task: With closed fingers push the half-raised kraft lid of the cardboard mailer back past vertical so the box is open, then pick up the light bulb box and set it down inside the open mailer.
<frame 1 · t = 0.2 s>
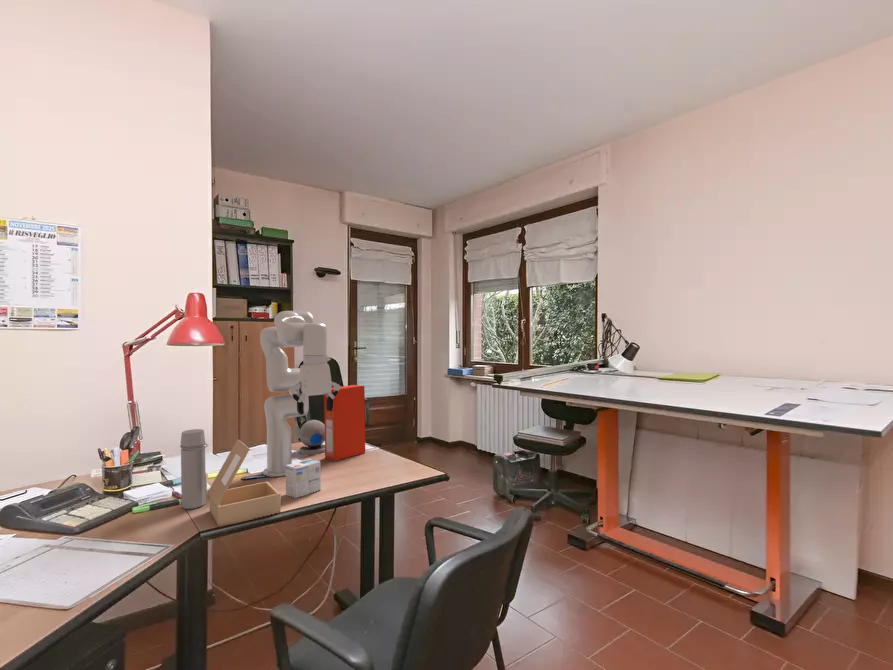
hand: (315, 412, 149), 31 cm above the table, tool pointing down, fingers open, 9 cm apart
lid: (228, 470, 142), point 14 cm above the table, hinge at 60.0°
webcam: (313, 451, 219), on the table
light bulb box: (303, 493, 163), on the table
mailer: (244, 511, 145), on the table
water bottle: (195, 506, 150), on the table
file binder: (345, 455, 211), on the table
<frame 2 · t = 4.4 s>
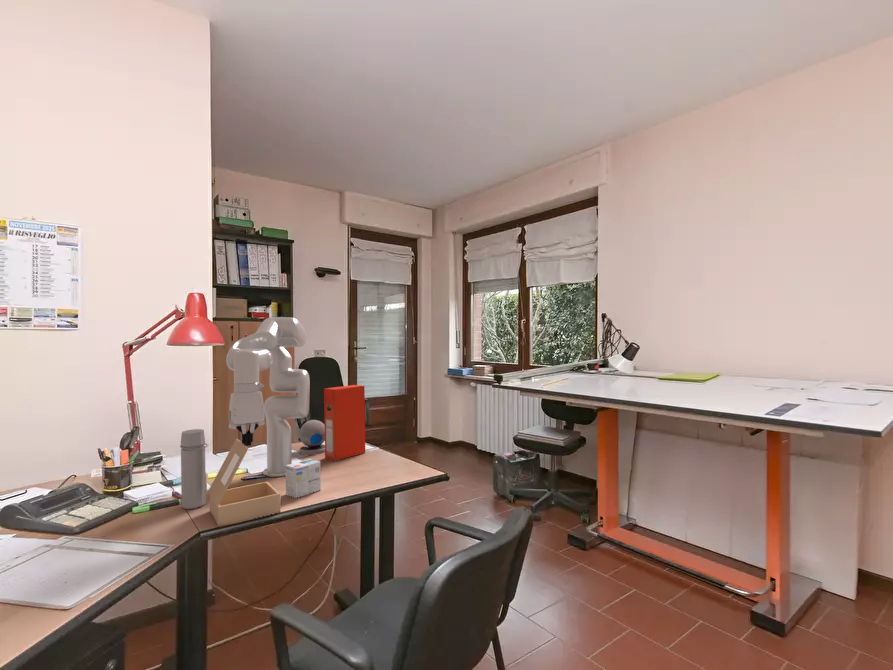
hand: (247, 445, 146), 21 cm above the table, tool pointing down, fingers closed
lid: (227, 470, 142), point 14 cm above the table, hinge at 61.6°, touching gripper
everything else where it was.
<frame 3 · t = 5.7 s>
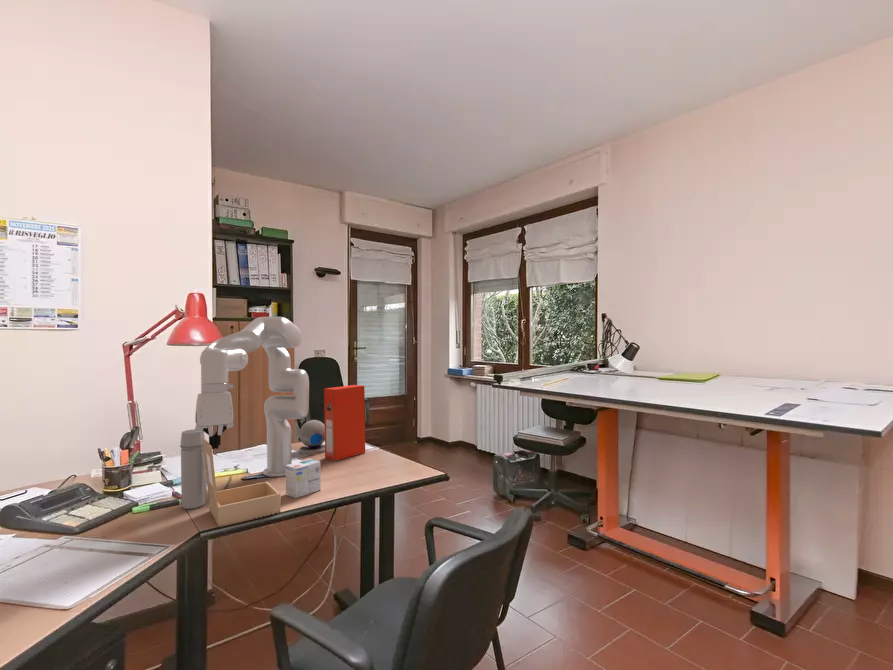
hand: (214, 448, 140), 22 cm above the table, tool pointing down, fingers closed
lid: (209, 470, 139), point 15 cm above the table, hinge at 94.9°, touching gripper
everything else where it was.
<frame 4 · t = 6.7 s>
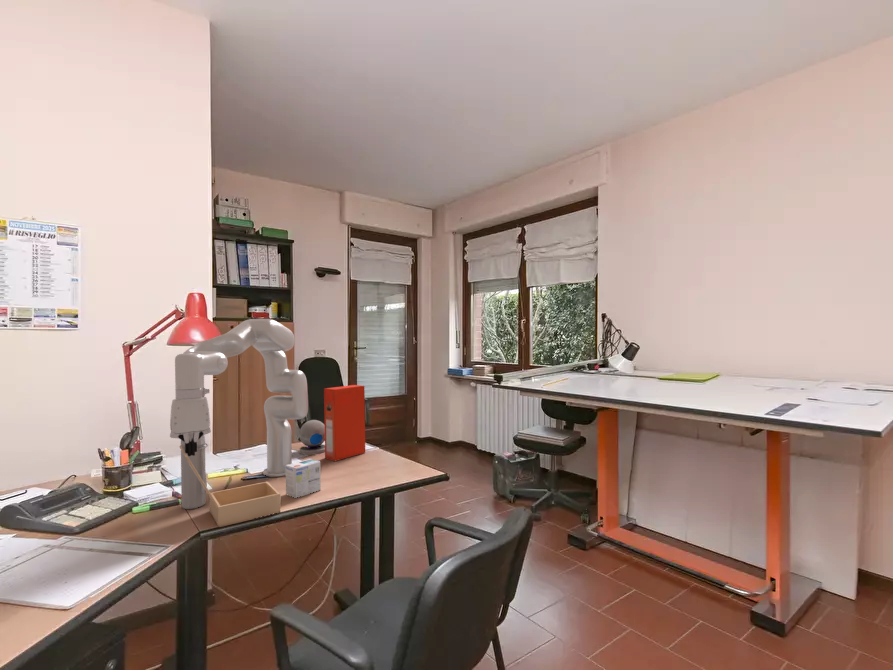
hand: (191, 454, 136), 21 cm above the table, tool pointing down, fingers closed
lid: (198, 475, 137), point 14 cm above the table, hinge at 115.9°, touching gripper
everything else where it was.
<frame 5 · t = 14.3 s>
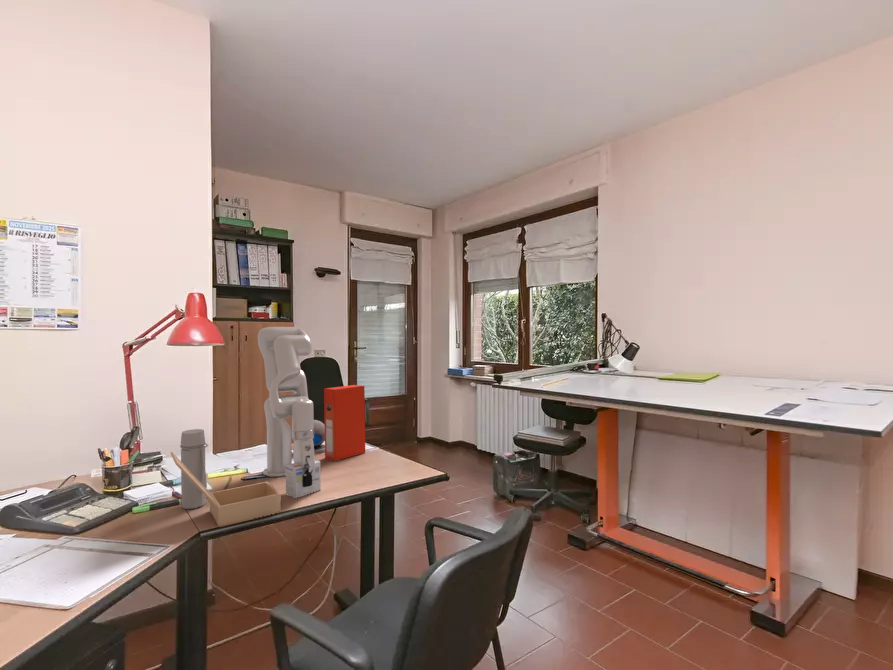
hand: (303, 482, 163), 3 cm above the table, tool pointing down, fingers closed on light bulb box, 7 cm apart
lid: (193, 479, 137), point 14 cm above the table, hinge at 125.0°
light bulb box: (303, 493, 163), on the table, touching gripper
everything else where it was.
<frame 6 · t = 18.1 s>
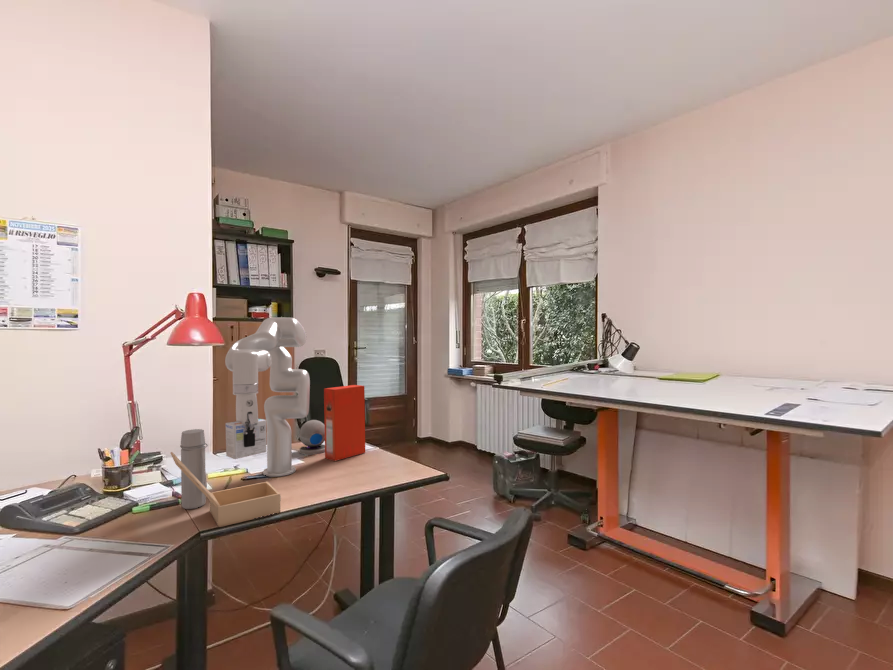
hand: (246, 443, 146), 22 cm above the table, tool pointing down, fingers closed on light bulb box, 7 cm apart
light bulb box: (246, 454, 146), point 18 cm above the table, touching gripper
everything else where it was.
when the fingers open (6 cm above the table, at t = 21.8 s): light bulb box drops 2 cm, resting on mailer.
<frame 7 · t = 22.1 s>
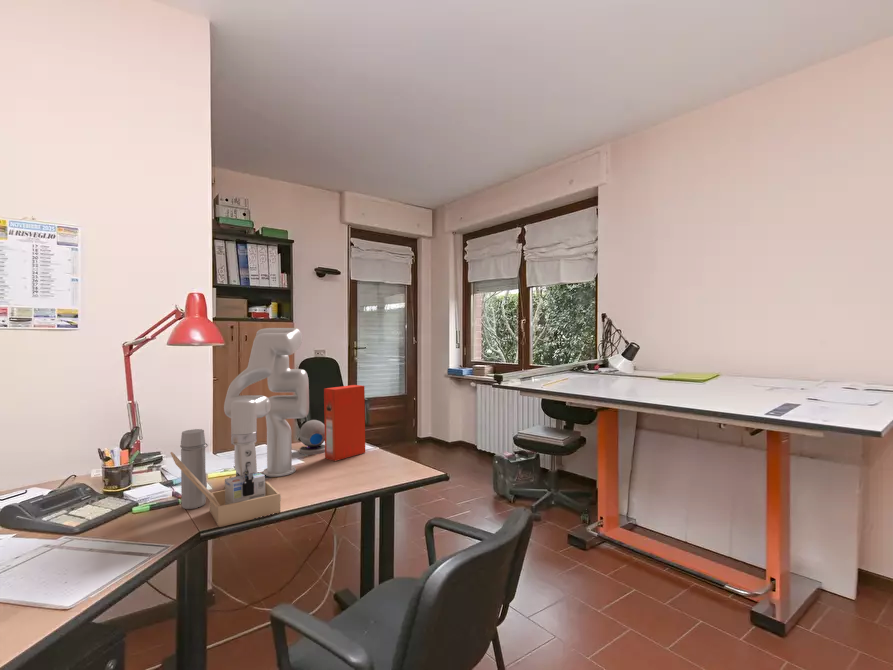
hand: (244, 490, 145), 7 cm above the table, tool pointing down, fingers open, 9 cm apart
light bulb box: (245, 510, 145), resting on mailer
everything else where it was.
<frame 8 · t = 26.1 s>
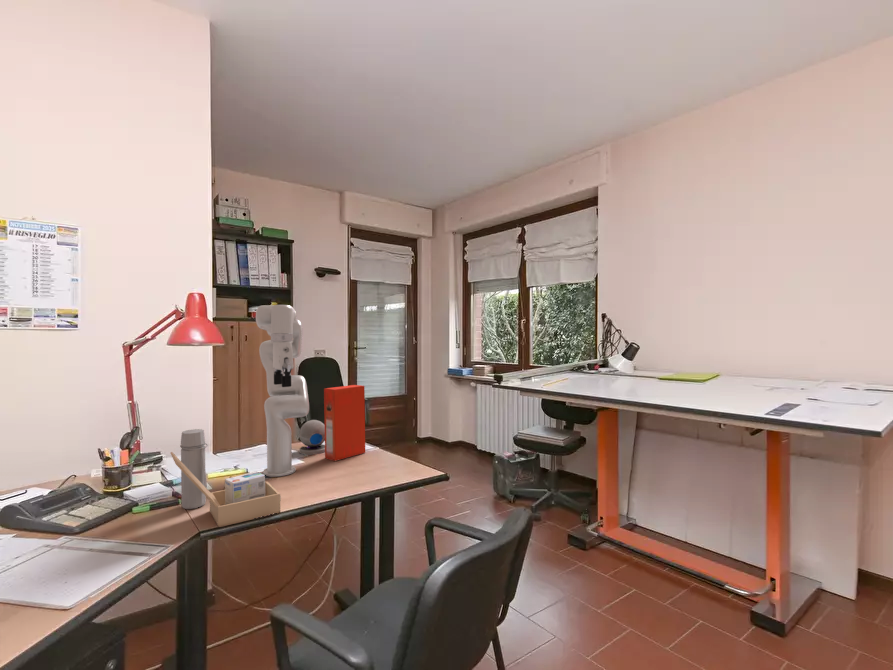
hand: (282, 385, 165), 38 cm above the table, tool pointing down, fingers open, 9 cm apart
nothing on the table moved.
at the end: lid at +125° (first picture: +60°); light bulb box inside the target area on the mailer (0.2 cm from its centre), point 0.4 cm above the mailer's base; light bulb box tilted 0° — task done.
